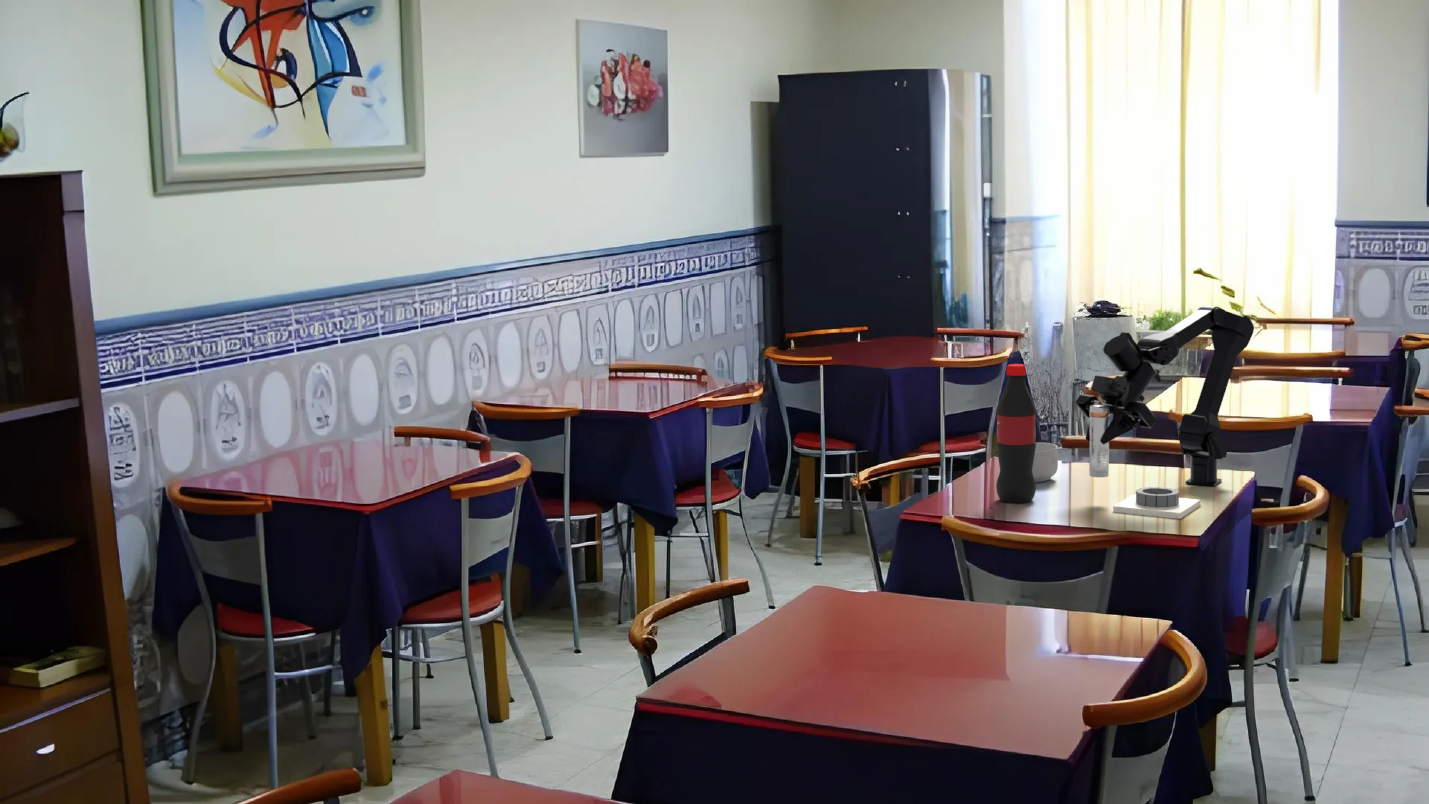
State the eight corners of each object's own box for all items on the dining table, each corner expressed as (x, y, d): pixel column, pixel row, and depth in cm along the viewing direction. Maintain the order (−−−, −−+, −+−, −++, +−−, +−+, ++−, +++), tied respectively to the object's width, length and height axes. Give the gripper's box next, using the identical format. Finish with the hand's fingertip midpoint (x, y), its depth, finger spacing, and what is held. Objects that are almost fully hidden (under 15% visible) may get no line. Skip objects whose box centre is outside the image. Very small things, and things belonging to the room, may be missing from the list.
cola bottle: (1033, 496, 321) (1033, 361, 316) (1038, 504, 313) (1038, 366, 308) (994, 496, 322) (994, 362, 317) (998, 505, 313) (998, 367, 309)
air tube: (1092, 473, 315) (1092, 404, 313) (1111, 474, 313) (1111, 405, 311) (1086, 476, 312) (1087, 407, 310) (1105, 478, 310) (1106, 408, 307)
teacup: (1062, 484, 333) (1062, 449, 332) (1014, 485, 333) (1014, 450, 332) (1049, 472, 347) (1049, 439, 346) (1004, 473, 347) (1004, 440, 346)
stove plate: (1135, 498, 315) (1135, 482, 315) (1200, 505, 307) (1200, 488, 307) (1113, 511, 304) (1113, 494, 303) (1180, 518, 296) (1180, 501, 296)
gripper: (1081, 357, 319) (1044, 412, 315) (1146, 365, 303) (1107, 423, 299) (1107, 389, 324) (1070, 444, 320) (1172, 399, 308) (1134, 456, 304)
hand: (1094, 441), depth 311 cm, fingers closed on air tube, 4 cm apart
